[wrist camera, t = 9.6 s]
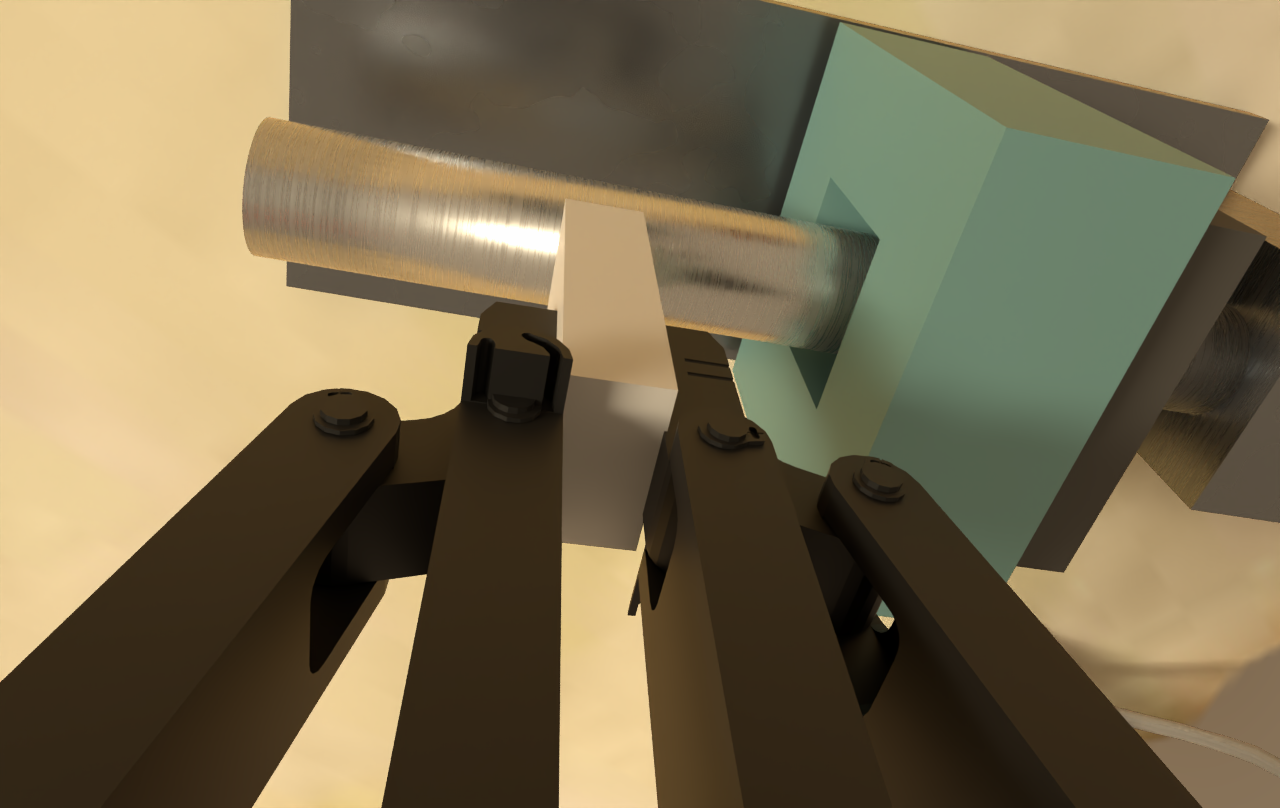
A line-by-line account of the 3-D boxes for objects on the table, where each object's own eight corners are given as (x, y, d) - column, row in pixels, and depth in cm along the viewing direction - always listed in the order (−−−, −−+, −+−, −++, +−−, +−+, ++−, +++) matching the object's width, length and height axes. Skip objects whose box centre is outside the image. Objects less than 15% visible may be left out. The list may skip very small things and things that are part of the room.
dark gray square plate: (876, 378, 26) (981, 561, 20) (987, 105, 22) (1168, 216, 15) (938, 389, 27) (1063, 572, 20) (1059, 121, 23) (1267, 236, 16)
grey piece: (294, 274, 26) (183, 440, 19) (302, -111, 21) (154, -92, 14) (1087, 407, 30) (1252, 585, 23) (1250, 112, 25) (1528, 219, 18)
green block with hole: (732, 369, 27) (804, 607, 18) (840, 21, 22) (1006, 127, 13) (856, 390, 28) (981, 627, 19) (988, 56, 23) (1235, 178, 14)
